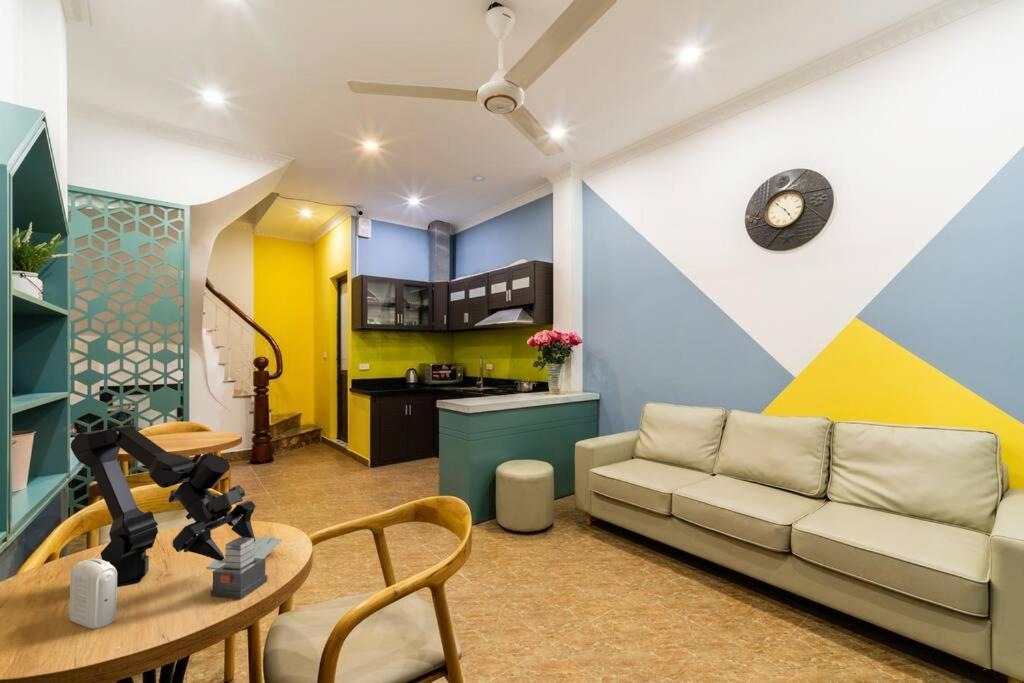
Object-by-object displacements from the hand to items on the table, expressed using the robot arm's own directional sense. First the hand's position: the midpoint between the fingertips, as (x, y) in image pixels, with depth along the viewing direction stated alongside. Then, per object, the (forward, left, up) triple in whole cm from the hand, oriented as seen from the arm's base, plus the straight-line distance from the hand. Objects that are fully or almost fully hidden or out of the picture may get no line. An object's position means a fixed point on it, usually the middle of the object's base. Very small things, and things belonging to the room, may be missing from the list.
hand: (238, 550), depth 102 cm
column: (0, 0, -7) cm, 7 cm away
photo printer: (-26, -1, -9) cm, 27 cm away
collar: (0, 0, -9) cm, 9 cm away
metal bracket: (0, +17, -9) cm, 19 cm away
